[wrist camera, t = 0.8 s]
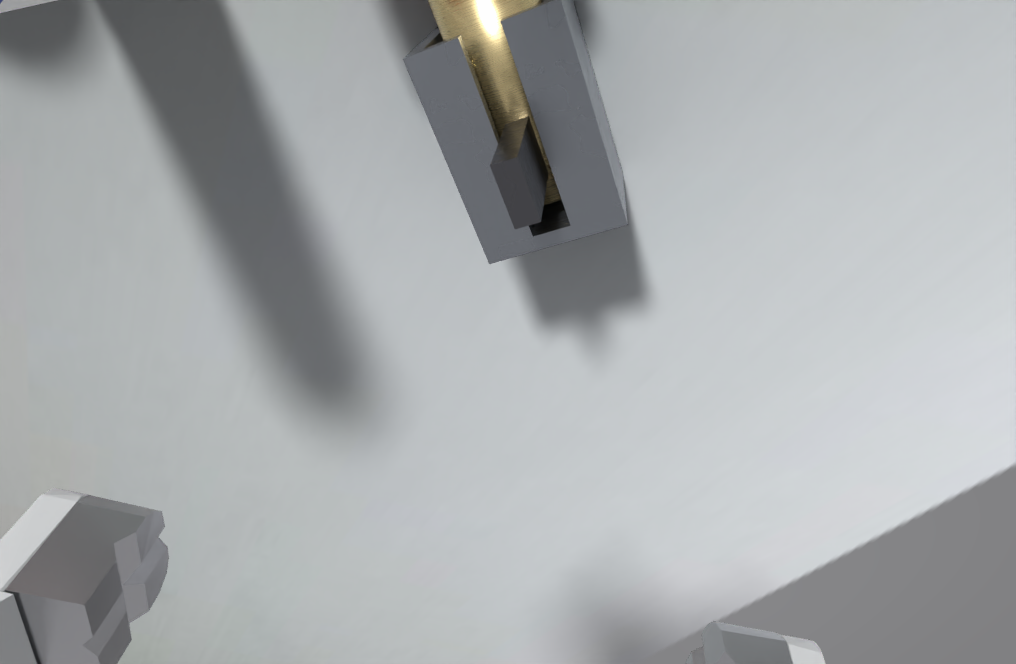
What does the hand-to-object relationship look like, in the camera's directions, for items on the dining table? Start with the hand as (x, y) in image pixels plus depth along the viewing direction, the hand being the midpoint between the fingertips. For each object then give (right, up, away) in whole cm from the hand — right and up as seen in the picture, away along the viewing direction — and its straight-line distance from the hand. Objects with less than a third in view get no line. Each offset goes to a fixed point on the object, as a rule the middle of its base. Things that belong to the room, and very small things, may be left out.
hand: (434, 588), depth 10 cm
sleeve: (+2, +17, +28) cm, 33 cm away
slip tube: (+1, +18, +26) cm, 32 cm away
